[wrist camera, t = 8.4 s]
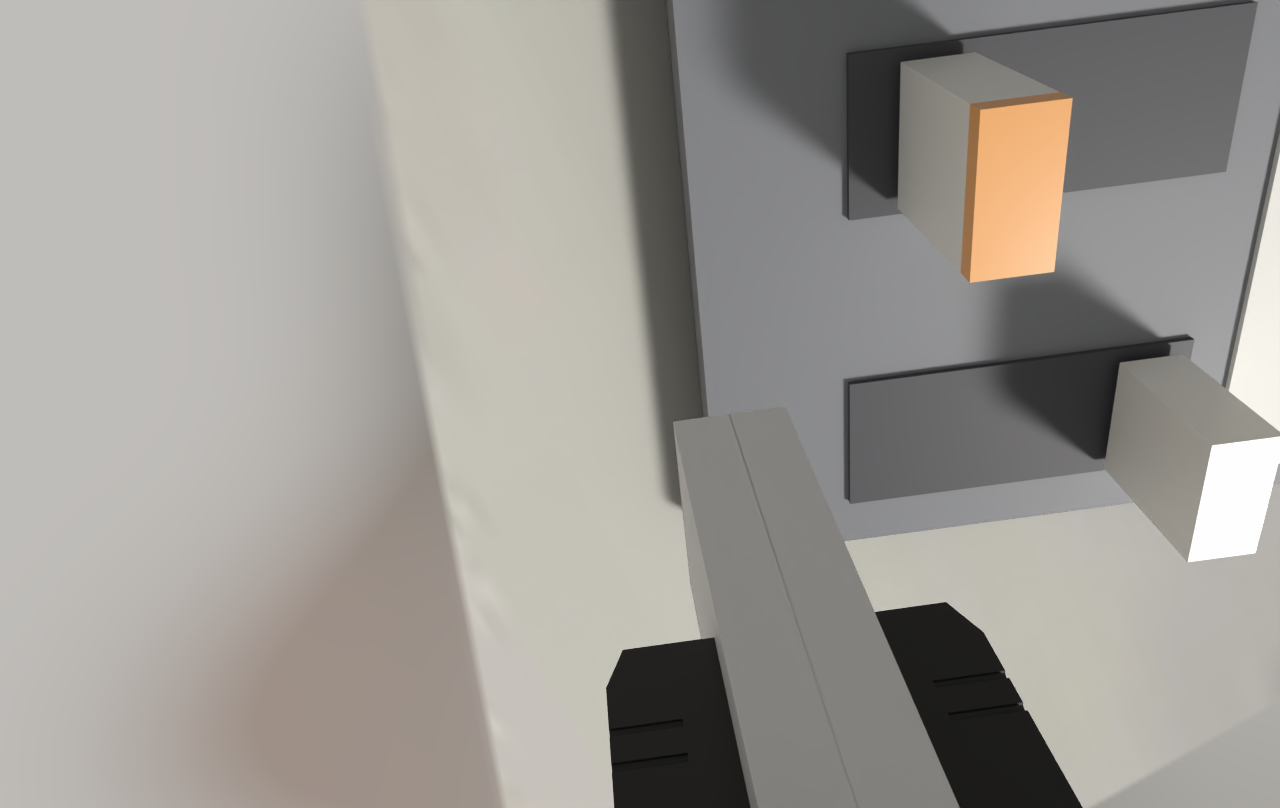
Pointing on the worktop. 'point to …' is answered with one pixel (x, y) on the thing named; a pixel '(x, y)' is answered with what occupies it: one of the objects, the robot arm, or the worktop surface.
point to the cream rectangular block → (1191, 457)
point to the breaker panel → (930, 285)
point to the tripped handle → (982, 164)
